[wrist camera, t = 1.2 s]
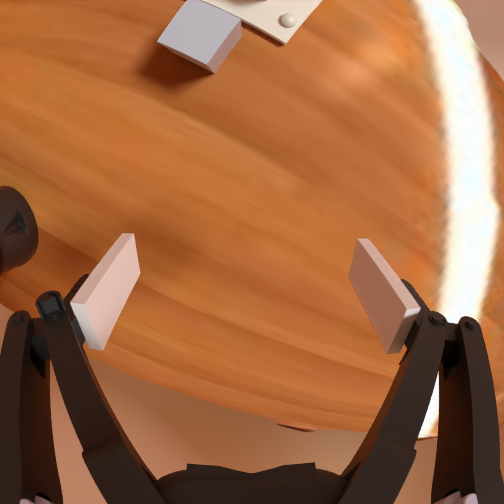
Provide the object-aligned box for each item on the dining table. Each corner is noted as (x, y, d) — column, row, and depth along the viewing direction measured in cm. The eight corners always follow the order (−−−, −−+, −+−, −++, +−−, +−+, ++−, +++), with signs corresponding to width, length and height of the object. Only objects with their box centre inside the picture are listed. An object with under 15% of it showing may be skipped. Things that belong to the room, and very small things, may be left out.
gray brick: (174, 53, 28) (156, 41, 21) (200, 17, 26) (190, -4, 19) (214, 73, 30) (206, 64, 23) (241, 37, 28) (240, 19, 21)
